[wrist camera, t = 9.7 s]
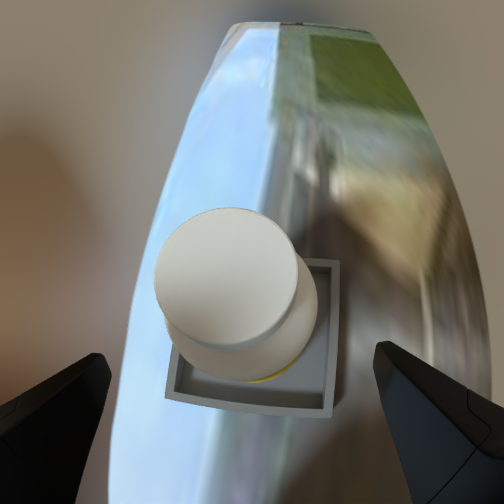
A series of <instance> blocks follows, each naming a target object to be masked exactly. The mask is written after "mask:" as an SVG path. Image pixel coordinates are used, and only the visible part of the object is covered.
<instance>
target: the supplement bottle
mask: <svg viewBox="0 0 504 504" xmlns="http://www.w3.org/2000/svg"><path fill="white" fill-rule="evenodd" d="M154 289H155V294H156V298H157V301H158V304H159V306H160V308H161V310H162V312H163V314H164V320H165V325H166V328H167V331H168V334H169V336H170V338H171V340H172V342H173V344H174V346H175V347H176V349H177V350H178V351H179V353H180V354H181V355H182V356H183V357H184V358H185V359H186V360H187V361H188V362H189V363H190V364H192V365H193V366H194V367H196V368H197V369H199V370H201V371H202V372H204V373H206V374H208V375H211V376H213V377H216V378H220V379H224V380H230V381H240V382H250V383H259V382H265V381H269V380H272V379H275V378H277V377H279V376H281V375H282V374H284V373H285V372H286V371H288V370H289V369H290V368H291V367H292V366H293V364H294V363H295V362H296V361H297V359H298V358H299V356H300V354H301V352H302V351H303V349H304V347H305V346H306V344H307V342H308V340H309V339H310V336H311V334H312V331H313V328H314V325H315V322H316V317H317V308H318V300H317V291H316V287H315V283H314V280H313V277H312V275H311V273H310V271H309V269H308V267H307V265H306V264H305V262H304V261H303V260H302V259H301V257H300V256H299V255H298V254H297V253H296V252H295V249H294V246H293V244H292V242H291V241H290V239H289V237H288V236H287V235H286V233H285V232H284V231H283V230H282V229H281V228H280V227H279V226H278V225H277V224H276V223H275V222H274V221H272V220H271V219H269V218H268V217H266V216H264V215H262V214H260V213H257V212H255V211H252V210H248V209H242V208H218V209H213V210H210V211H206V212H203V213H201V214H198V215H196V216H194V217H192V218H191V219H189V220H187V221H186V222H185V223H183V224H182V225H181V226H180V227H178V228H177V229H176V230H175V231H174V232H173V233H172V234H171V236H170V237H169V238H168V239H167V241H166V242H165V244H164V245H163V247H162V249H161V251H160V253H159V256H158V259H157V262H156V266H155V271H154Z"/></svg>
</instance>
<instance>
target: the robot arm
mask: <svg viewBox="0 0 504 504" xmlns="http://www.w3.org/2000/svg"><path fill="white" fill-rule="evenodd" d="M373 369H374V373H375V378H376V382H377V386H378V390H379V395H380V399H381V403H382V407H383V410H384V414H385V416H386V419H387V422H388V425H389V428H390V431H391V434H392V437H393V440H394V442H395V446H396V449H397V452H398V455H399V458H400V461H401V464H402V467H403V471H404V474H405V477H406V480H407V484H408V487H409V491H410V494H411V498H412V501H413V504H504V408H503V407H501V406H499V405H497V404H495V403H493V402H491V401H489V400H487V399H485V398H483V397H482V396H480V395H478V394H476V393H475V392H473V391H472V390H470V389H467V388H466V387H465V386H463V385H462V384H460V383H458V382H457V381H455V380H453V379H452V378H450V377H448V376H447V375H445V374H443V373H442V372H440V371H439V370H437V369H435V368H434V367H432V366H430V365H429V364H427V363H425V362H424V361H422V360H420V359H419V358H417V357H416V356H414V355H412V354H411V353H409V352H407V351H406V350H404V349H402V348H401V347H399V346H398V345H396V344H394V343H393V342H391V341H383V342H378V343H377V345H376V349H375V355H374V360H373ZM111 375H112V374H111V370H110V368H109V366H108V363H107V361H106V359H105V357H104V355H103V354H101V353H91V354H89V355H87V356H86V357H84V358H82V359H81V360H79V361H77V362H75V363H74V364H72V365H70V366H69V367H67V368H65V369H63V370H62V371H60V372H58V373H57V374H55V375H53V376H52V377H50V378H48V379H46V380H45V381H43V382H41V383H40V384H38V385H36V386H34V387H33V388H31V389H29V390H28V391H26V392H24V393H22V394H21V395H20V396H17V397H15V398H14V399H12V400H10V401H8V402H7V403H5V404H3V405H1V406H0V504H75V502H76V498H77V494H78V491H79V487H80V483H81V480H82V476H83V473H84V469H85V466H86V463H87V459H88V456H89V453H90V449H91V446H92V443H93V440H94V437H95V434H96V431H97V428H98V425H99V422H100V419H101V416H102V413H103V410H104V406H105V401H106V397H107V393H108V389H109V385H110V381H111V377H112V376H111Z"/></svg>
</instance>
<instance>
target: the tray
mask: <svg viewBox="0 0 504 504" xmlns="http://www.w3.org/2000/svg"><path fill="white" fill-rule="evenodd" d="M301 259H302V260H303V261H304V262H305V264H306V265H307V267H308V269H309V271H310V273H311V275H312V277H313V280H314V283H315V287H316V291H317V300H318V308H317V317H316V322H315V325H314V328H313V331H312V334H311V336H310V339H309V340H308V342H307V344H306V346H305V347H304V349H303V351H302V352H301V354H300V356H299V358H298V359H297V361H296V362H295V363H294V364H293V366H292V367H291V368H290V369H289V370H288V371H286V372H285V373H284V374H282V375H281V376H279V377H277V378H275V379H272V380H269V381H265V382H259V383H250V382H240V381H230V380H224V379H220V378H216V377H213V376H211V375H208V374H206V373H204V372H202V371H201V370H199V369H197V368H196V367H194V366H193V365H192V364H190V363H189V362H188V361H187V360H186V359H185V358H184V357H183V356H182V355H181V354H180V353H179V351H178V350H177V349H176V347H175V346H174V344H172V350H171V357H170V363H169V370H168V376H167V383H166V390H165V398H166V399H171V400H175V401H180V402H185V403H190V404H195V405H200V406H206V407H212V408H218V409H224V410H231V411H239V412H246V413H255V414H265V415H276V416H289V417H308V418H332V410H333V400H334V389H335V378H336V365H337V349H338V330H339V299H340V260H332V259H317V258H302V257H301Z"/></svg>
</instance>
